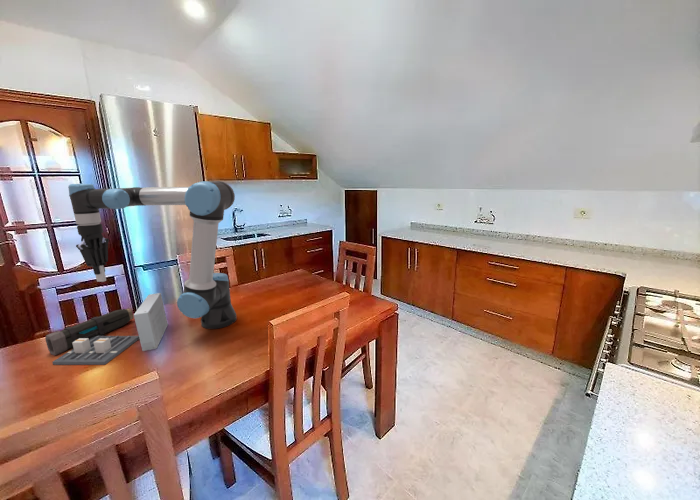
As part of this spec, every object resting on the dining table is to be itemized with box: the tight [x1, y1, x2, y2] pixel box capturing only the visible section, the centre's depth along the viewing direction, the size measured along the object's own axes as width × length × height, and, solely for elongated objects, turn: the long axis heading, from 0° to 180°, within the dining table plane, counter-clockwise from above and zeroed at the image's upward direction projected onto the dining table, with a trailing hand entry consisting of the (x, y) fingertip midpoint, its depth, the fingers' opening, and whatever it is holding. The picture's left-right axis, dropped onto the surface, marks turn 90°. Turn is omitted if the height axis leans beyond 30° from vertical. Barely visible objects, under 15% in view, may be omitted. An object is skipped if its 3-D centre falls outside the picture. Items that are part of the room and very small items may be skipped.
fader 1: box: [72, 338, 91, 353], centre depth 113 cm, size 4×3×5 cm
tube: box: [45, 307, 134, 356], centre depth 126 cm, size 11×7×30 cm
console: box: [52, 335, 140, 366], centre depth 116 cm, size 19×18×2 cm
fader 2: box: [93, 338, 111, 353], centre depth 113 cm, size 4×3×5 cm
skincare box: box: [133, 292, 169, 352], centre depth 124 cm, size 21×5×16 cm, turn 20°
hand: (101, 281), depth 122 cm, fingers closed
